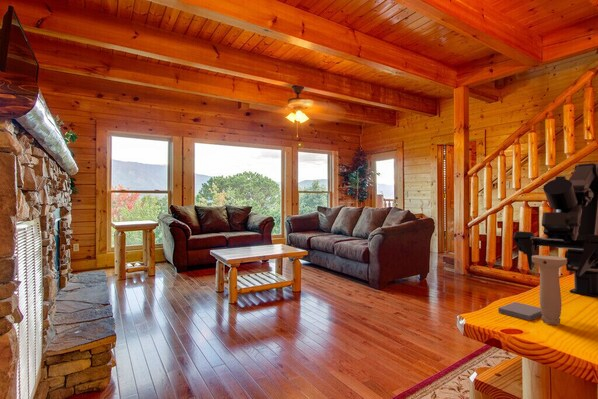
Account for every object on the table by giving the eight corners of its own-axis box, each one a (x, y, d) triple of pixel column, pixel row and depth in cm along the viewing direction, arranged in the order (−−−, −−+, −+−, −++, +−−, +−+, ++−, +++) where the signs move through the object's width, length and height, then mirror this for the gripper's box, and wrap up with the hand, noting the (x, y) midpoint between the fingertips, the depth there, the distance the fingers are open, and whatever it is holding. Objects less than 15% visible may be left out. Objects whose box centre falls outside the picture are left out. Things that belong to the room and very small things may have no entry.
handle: (564, 329, 71) (562, 260, 71) (530, 321, 76) (528, 257, 76) (572, 324, 73) (570, 257, 73) (538, 316, 79) (536, 254, 79)
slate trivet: (515, 306, 86) (515, 301, 86) (545, 313, 80) (545, 309, 80) (498, 312, 82) (498, 307, 82) (529, 320, 76) (529, 315, 76)
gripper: (514, 201, 87) (499, 246, 80) (609, 199, 73) (601, 254, 66) (525, 228, 92) (512, 273, 85) (617, 232, 78) (609, 287, 71)
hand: (553, 271), depth 77 cm, fingers open, 9 cm apart
